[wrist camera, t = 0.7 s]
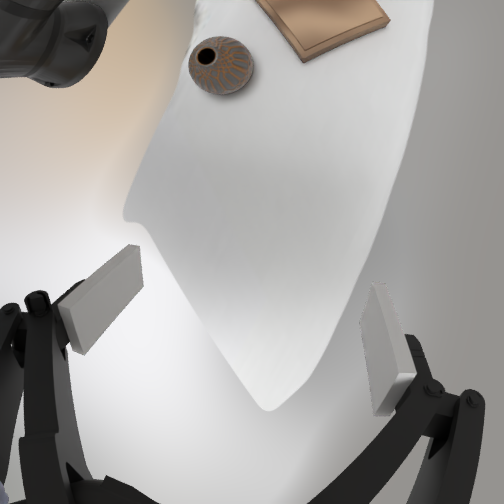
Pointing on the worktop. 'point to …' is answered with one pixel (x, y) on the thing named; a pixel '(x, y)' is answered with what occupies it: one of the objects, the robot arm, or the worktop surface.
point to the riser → (323, 22)
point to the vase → (220, 65)
